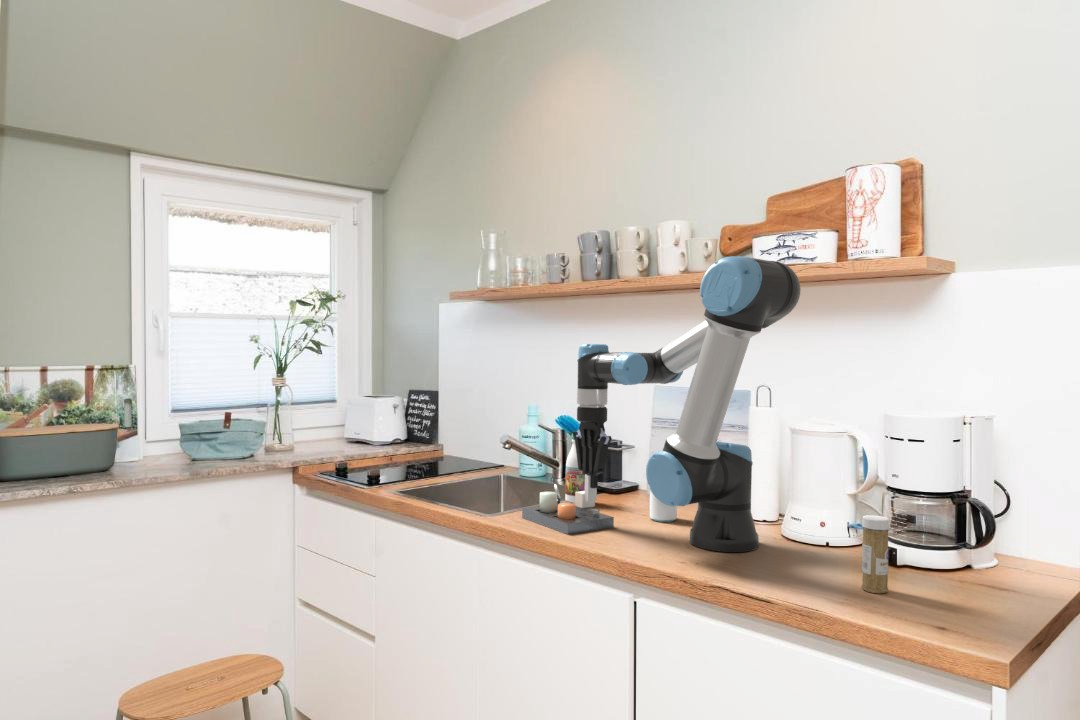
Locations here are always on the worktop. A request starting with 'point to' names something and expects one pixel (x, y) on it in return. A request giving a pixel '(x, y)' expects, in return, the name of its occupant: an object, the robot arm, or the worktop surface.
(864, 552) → the spice jar
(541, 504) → the button
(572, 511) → the button
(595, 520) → the grey base platform
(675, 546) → the worktop surface
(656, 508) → the can
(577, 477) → the milk bottle
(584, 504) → the slider
